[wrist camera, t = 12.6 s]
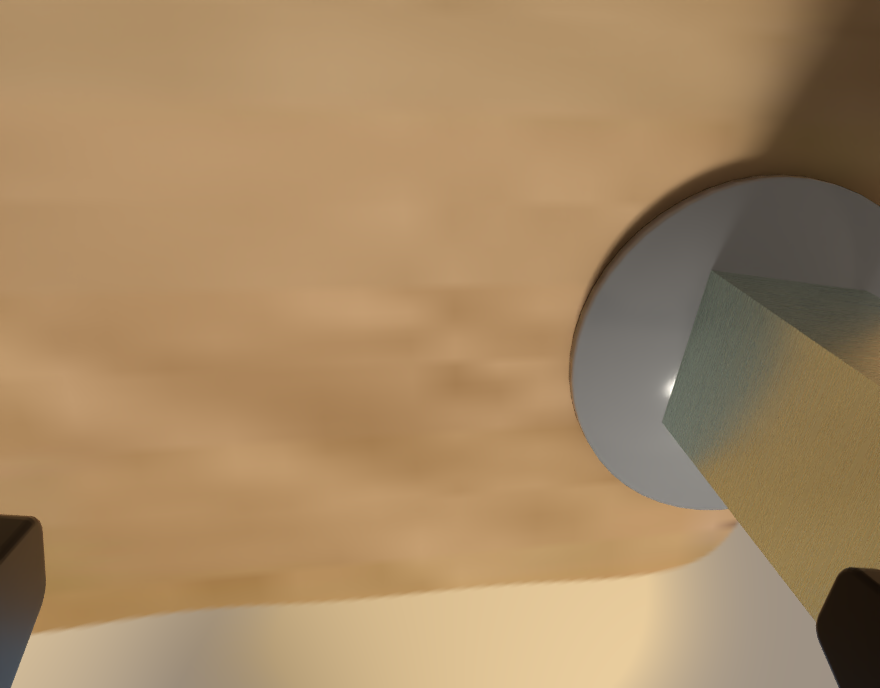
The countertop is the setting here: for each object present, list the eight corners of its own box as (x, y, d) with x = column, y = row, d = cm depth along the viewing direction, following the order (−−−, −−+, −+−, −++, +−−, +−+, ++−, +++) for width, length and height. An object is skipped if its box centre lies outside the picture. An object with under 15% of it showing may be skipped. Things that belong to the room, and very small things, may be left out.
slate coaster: (535, 487, 24) (539, 498, 23) (621, 147, 19) (628, 151, 19) (834, 509, 25) (844, 520, 25) (972, 202, 21) (989, 207, 21)
